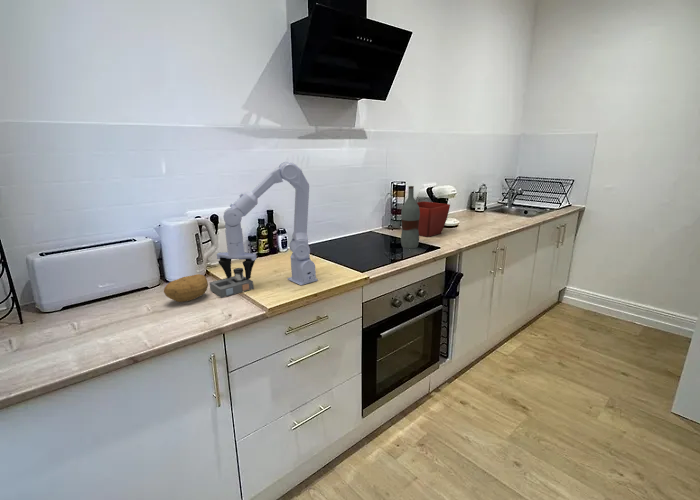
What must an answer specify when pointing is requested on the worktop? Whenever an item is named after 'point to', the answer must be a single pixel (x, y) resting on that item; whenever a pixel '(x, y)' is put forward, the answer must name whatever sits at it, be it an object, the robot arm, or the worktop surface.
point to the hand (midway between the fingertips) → (238, 278)
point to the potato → (186, 288)
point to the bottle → (410, 221)
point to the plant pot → (432, 218)
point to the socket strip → (230, 286)
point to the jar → (238, 274)
